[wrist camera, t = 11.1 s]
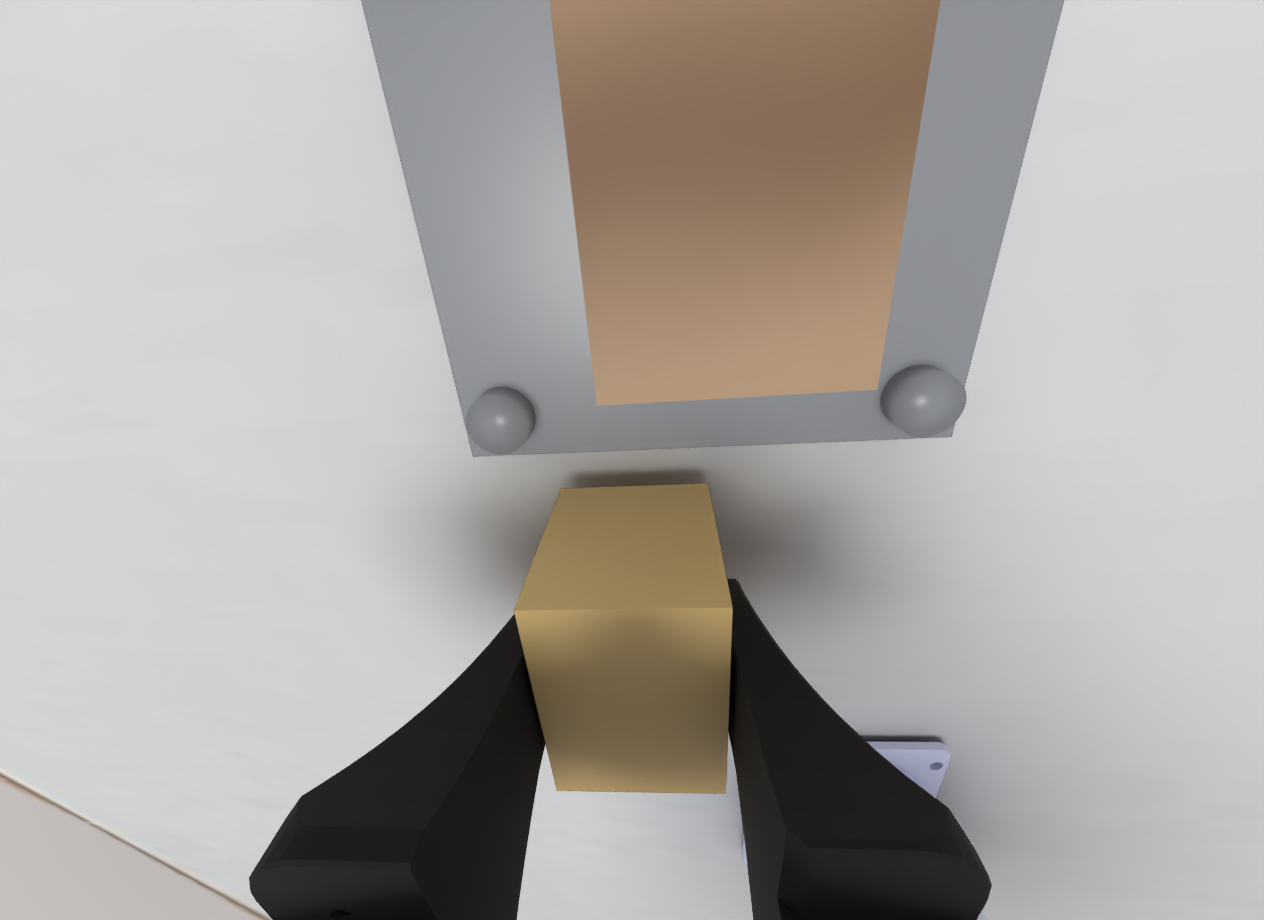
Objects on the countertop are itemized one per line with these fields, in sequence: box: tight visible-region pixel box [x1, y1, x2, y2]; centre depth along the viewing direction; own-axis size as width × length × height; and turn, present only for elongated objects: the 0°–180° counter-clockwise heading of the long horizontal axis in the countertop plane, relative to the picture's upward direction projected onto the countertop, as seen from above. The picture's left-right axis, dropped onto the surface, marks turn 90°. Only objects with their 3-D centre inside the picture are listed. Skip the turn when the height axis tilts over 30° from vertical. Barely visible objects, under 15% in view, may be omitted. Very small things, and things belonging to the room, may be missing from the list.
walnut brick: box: [549, 0, 940, 406], centre depth 8 cm, size 6×4×5 cm
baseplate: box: [361, 0, 1064, 457], centre depth 10 cm, size 12×13×2 cm
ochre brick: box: [514, 483, 733, 794], centre depth 12 cm, size 6×4×5 cm
